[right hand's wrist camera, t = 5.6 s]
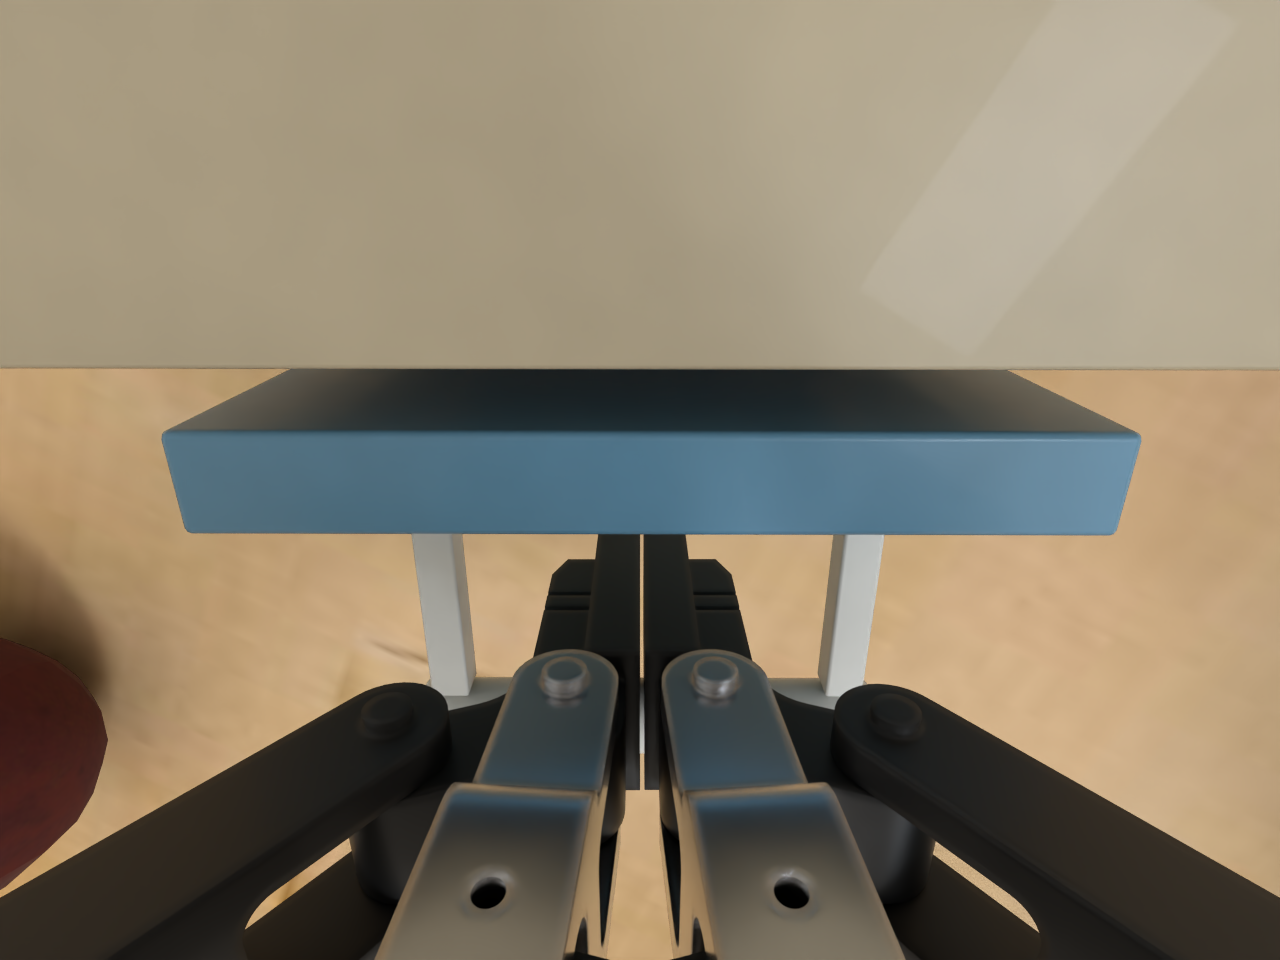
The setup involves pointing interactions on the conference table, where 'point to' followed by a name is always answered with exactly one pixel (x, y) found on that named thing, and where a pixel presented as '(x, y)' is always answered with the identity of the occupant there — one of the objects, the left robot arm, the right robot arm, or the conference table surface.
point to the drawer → (650, 472)
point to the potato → (43, 754)
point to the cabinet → (640, 184)
